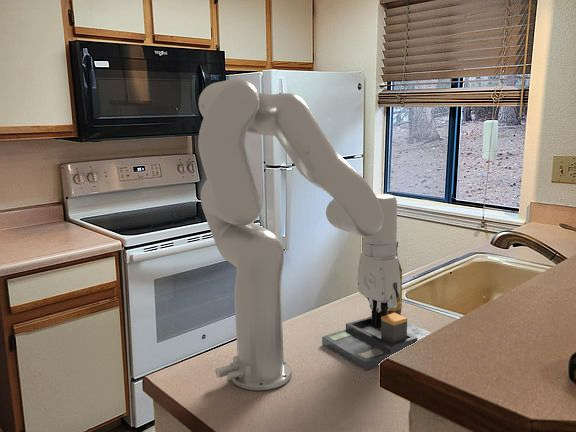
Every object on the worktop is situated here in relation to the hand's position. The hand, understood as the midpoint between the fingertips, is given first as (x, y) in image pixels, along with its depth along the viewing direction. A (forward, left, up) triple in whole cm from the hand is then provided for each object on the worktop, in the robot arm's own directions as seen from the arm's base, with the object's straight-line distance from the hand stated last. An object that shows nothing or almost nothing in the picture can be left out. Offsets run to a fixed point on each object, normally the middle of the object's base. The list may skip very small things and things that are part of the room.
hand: (379, 325), depth 122 cm
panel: (0, 0, -5) cm, 5 cm away
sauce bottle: (+15, +13, -5) cm, 20 cm away
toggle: (0, -5, -2) cm, 5 cm away
